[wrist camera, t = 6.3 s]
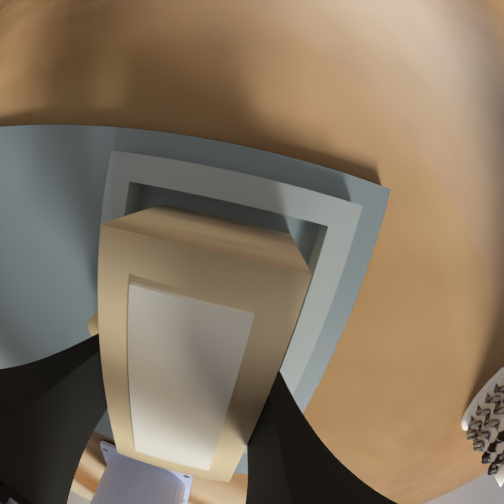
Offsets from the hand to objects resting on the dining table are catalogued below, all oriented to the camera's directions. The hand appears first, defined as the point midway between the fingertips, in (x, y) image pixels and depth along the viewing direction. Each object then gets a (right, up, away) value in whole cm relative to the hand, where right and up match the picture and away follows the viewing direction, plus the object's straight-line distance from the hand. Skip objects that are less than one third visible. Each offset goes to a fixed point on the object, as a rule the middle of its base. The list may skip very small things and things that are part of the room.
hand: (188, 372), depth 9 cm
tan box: (0, +1, +2) cm, 3 cm away
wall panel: (-6, 0, +4) cm, 7 cm away
